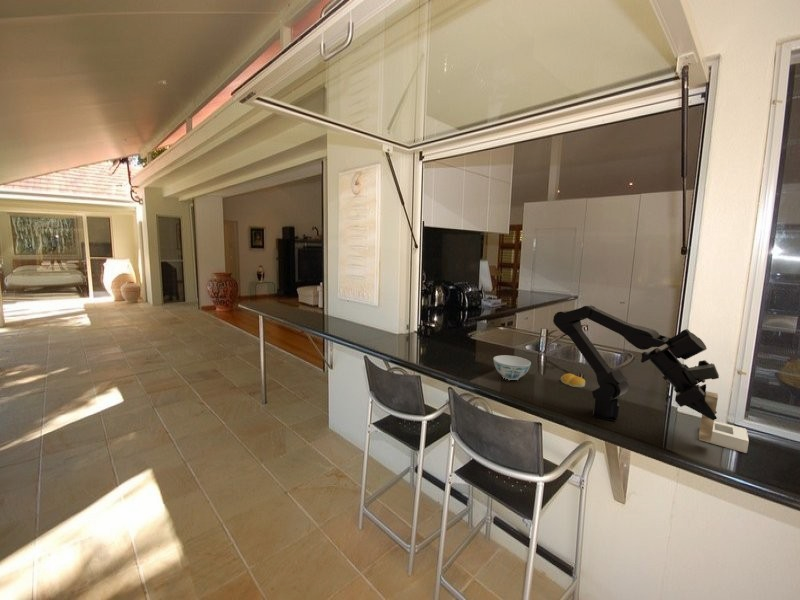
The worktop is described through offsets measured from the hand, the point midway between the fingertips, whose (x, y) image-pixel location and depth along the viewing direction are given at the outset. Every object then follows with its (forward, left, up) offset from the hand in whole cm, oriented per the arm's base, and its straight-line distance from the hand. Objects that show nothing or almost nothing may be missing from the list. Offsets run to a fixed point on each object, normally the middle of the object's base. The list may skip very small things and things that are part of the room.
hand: (715, 416), depth 97 cm
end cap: (+5, +10, -10) cm, 15 cm away
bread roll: (-37, +35, -10) cm, 52 cm away
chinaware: (-60, +25, -10) cm, 66 cm away
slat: (-1, 0, -7) cm, 7 cm away
